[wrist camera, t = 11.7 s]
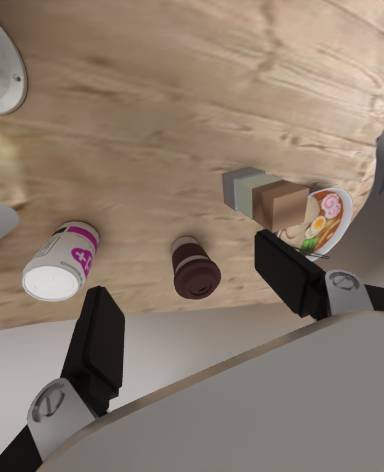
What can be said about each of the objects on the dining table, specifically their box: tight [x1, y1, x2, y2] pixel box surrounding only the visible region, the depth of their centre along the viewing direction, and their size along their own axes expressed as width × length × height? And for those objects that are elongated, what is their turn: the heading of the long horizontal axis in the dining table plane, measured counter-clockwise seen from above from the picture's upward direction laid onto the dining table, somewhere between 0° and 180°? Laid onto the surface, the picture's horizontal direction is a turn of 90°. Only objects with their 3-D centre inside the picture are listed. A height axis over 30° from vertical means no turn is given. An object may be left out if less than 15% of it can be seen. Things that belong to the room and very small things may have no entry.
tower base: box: [222, 167, 265, 211], centre depth 41 cm, size 7×7×6 cm
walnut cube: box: [252, 180, 309, 233], centre depth 30 cm, size 6×6×6 cm
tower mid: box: [236, 173, 283, 220], centre depth 36 cm, size 6×6×6 cm
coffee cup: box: [172, 237, 221, 299], centre depth 42 cm, size 10×10×15 cm
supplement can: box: [23, 221, 100, 301], centre depth 33 cm, size 8×8×15 cm
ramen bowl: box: [275, 187, 353, 261], centre depth 50 cm, size 25×23×8 cm
